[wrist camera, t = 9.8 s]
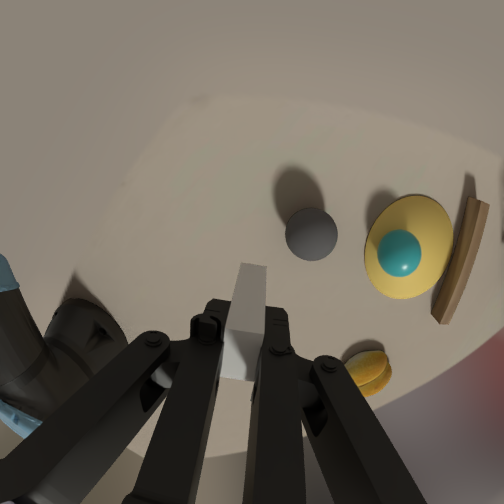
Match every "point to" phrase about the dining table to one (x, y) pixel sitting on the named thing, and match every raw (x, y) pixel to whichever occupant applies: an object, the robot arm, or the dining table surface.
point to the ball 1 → (311, 234)
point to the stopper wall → (461, 260)
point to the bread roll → (369, 371)
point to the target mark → (429, 236)
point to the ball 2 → (399, 253)
